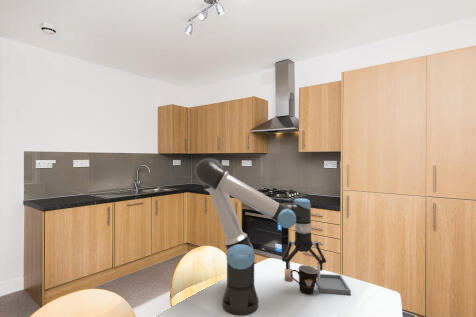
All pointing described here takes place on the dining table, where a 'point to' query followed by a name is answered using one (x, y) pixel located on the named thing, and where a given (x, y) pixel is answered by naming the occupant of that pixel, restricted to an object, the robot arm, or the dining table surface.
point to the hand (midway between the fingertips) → (304, 276)
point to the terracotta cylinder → (288, 275)
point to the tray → (332, 284)
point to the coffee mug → (306, 278)
